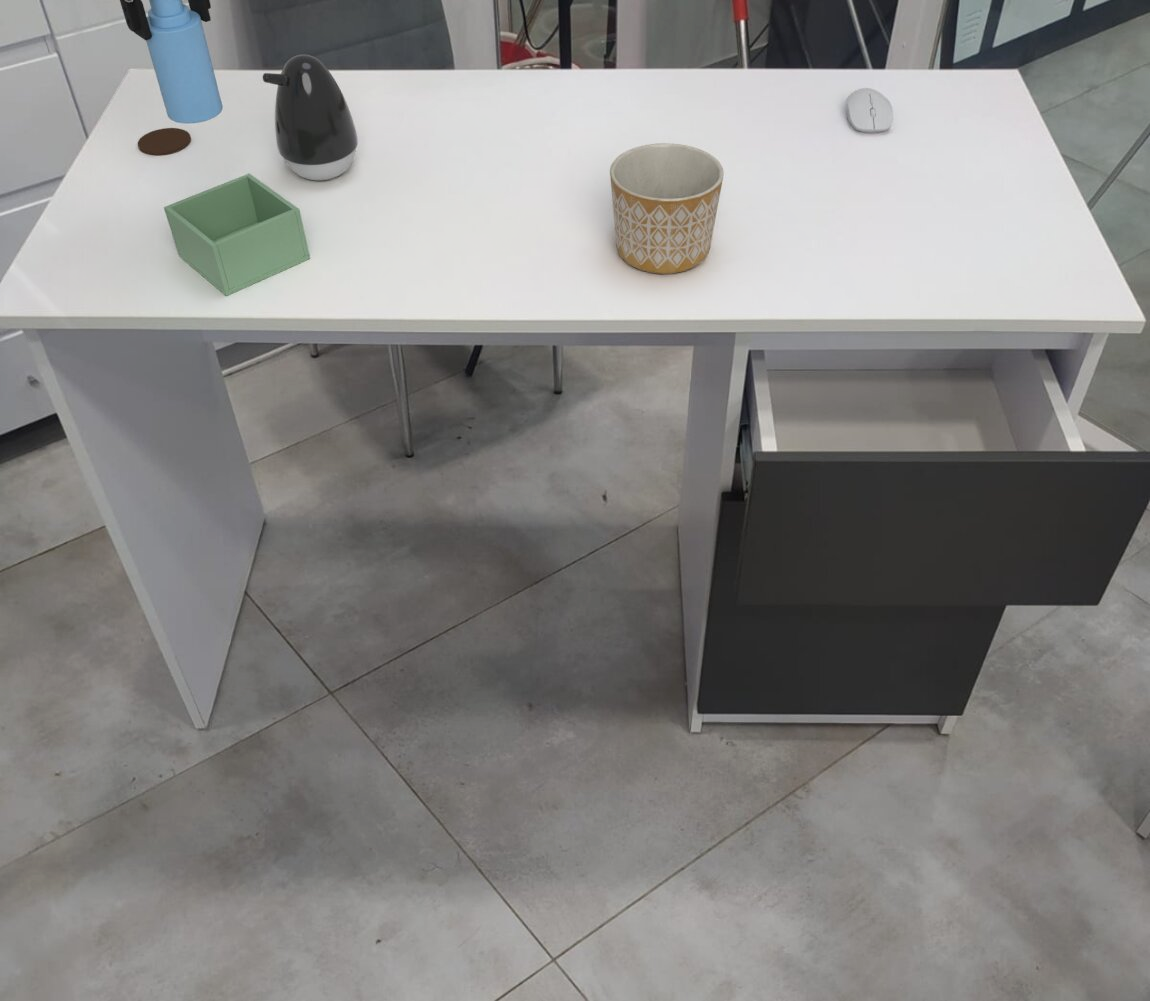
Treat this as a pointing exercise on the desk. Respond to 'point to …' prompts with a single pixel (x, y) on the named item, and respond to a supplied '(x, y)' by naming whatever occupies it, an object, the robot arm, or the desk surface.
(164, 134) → the coaster
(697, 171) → the planter
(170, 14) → the bottle
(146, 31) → the robot arm
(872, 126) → the computer mouse
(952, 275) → the desk surface
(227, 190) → the bin
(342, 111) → the pump dispenser
